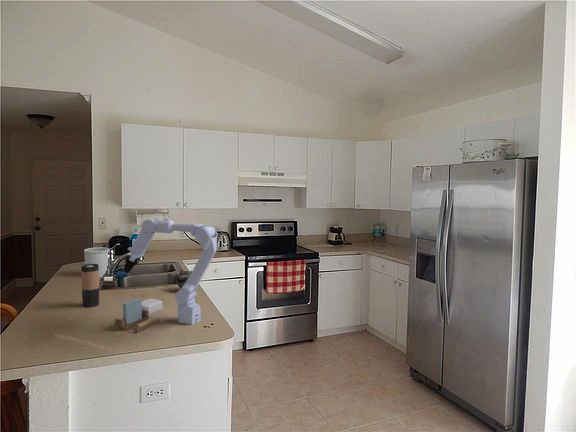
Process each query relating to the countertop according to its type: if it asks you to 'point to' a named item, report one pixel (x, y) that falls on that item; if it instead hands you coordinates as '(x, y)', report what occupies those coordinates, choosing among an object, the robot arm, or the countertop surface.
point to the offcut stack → (142, 323)
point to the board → (132, 311)
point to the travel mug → (90, 285)
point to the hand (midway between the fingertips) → (128, 268)
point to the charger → (151, 305)
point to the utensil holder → (97, 258)
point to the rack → (130, 327)
